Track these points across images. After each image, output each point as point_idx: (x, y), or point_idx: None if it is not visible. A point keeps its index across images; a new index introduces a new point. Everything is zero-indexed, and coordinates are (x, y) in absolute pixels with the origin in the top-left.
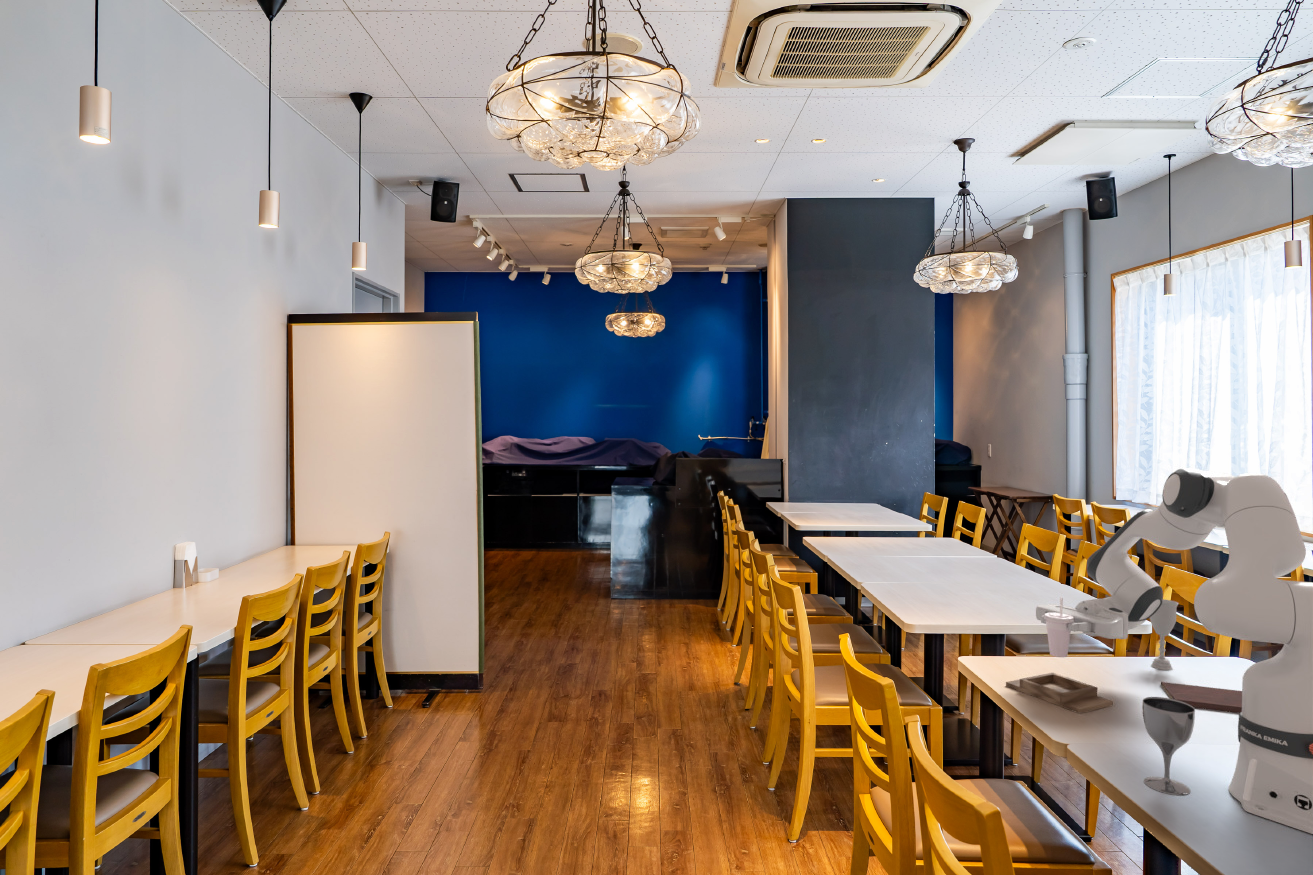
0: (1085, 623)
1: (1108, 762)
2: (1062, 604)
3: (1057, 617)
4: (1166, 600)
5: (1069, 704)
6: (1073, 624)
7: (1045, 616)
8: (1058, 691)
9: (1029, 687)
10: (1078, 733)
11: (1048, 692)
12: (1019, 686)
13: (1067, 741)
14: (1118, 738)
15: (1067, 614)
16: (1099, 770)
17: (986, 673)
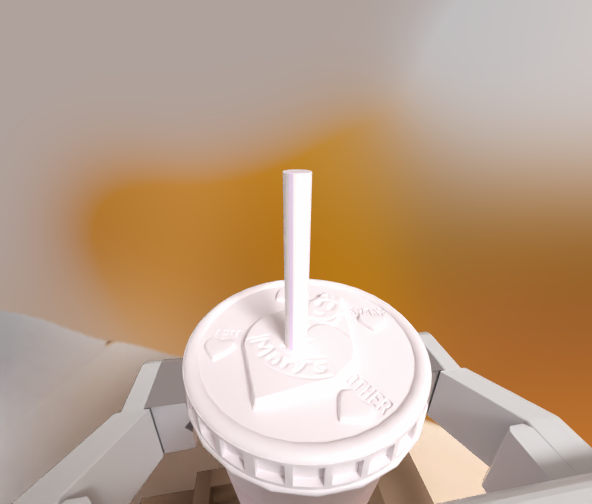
0: (39, 483)
1: (28, 347)
2: (285, 247)
3: (272, 306)
4: None
5: (184, 500)
6: (151, 363)
7: (334, 288)
8: (226, 482)
9: None
10: (103, 389)
11: None
12: None
13: (111, 349)
14: (3, 453)
15: (328, 449)
16: (41, 323)
17: None
